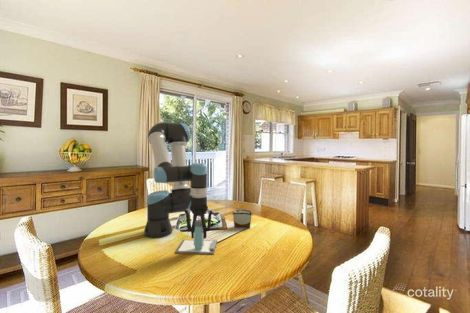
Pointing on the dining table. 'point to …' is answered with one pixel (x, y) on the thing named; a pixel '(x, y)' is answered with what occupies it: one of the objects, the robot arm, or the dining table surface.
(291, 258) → the dining table surface
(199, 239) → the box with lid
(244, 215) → the food container
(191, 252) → the clipboard
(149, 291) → the dining table surface
